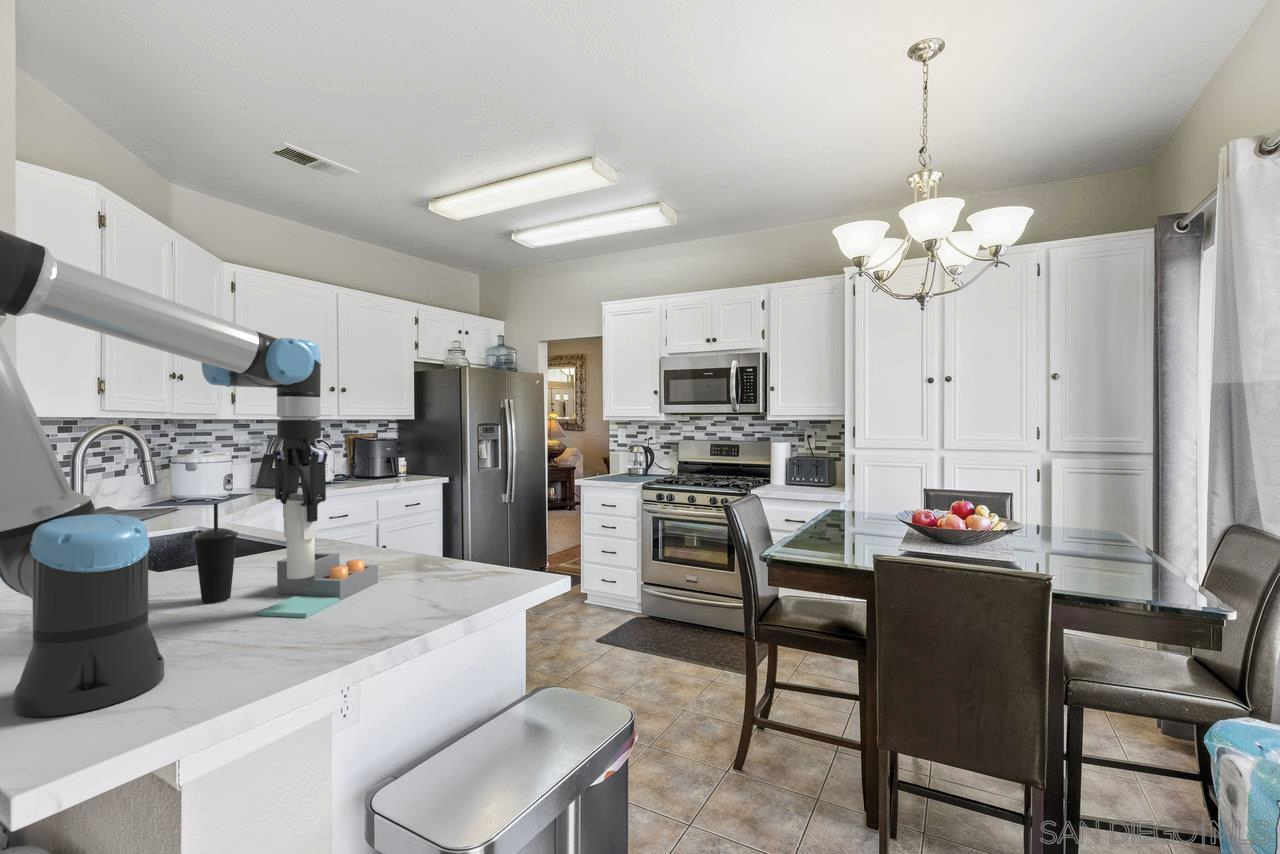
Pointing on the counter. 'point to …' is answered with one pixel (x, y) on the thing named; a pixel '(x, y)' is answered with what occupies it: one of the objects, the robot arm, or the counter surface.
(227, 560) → the drinking cup
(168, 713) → the counter surface
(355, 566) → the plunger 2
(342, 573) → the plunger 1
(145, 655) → the robot arm
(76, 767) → the counter surface
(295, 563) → the cylinder
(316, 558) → the grey stepped holder
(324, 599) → the mat
